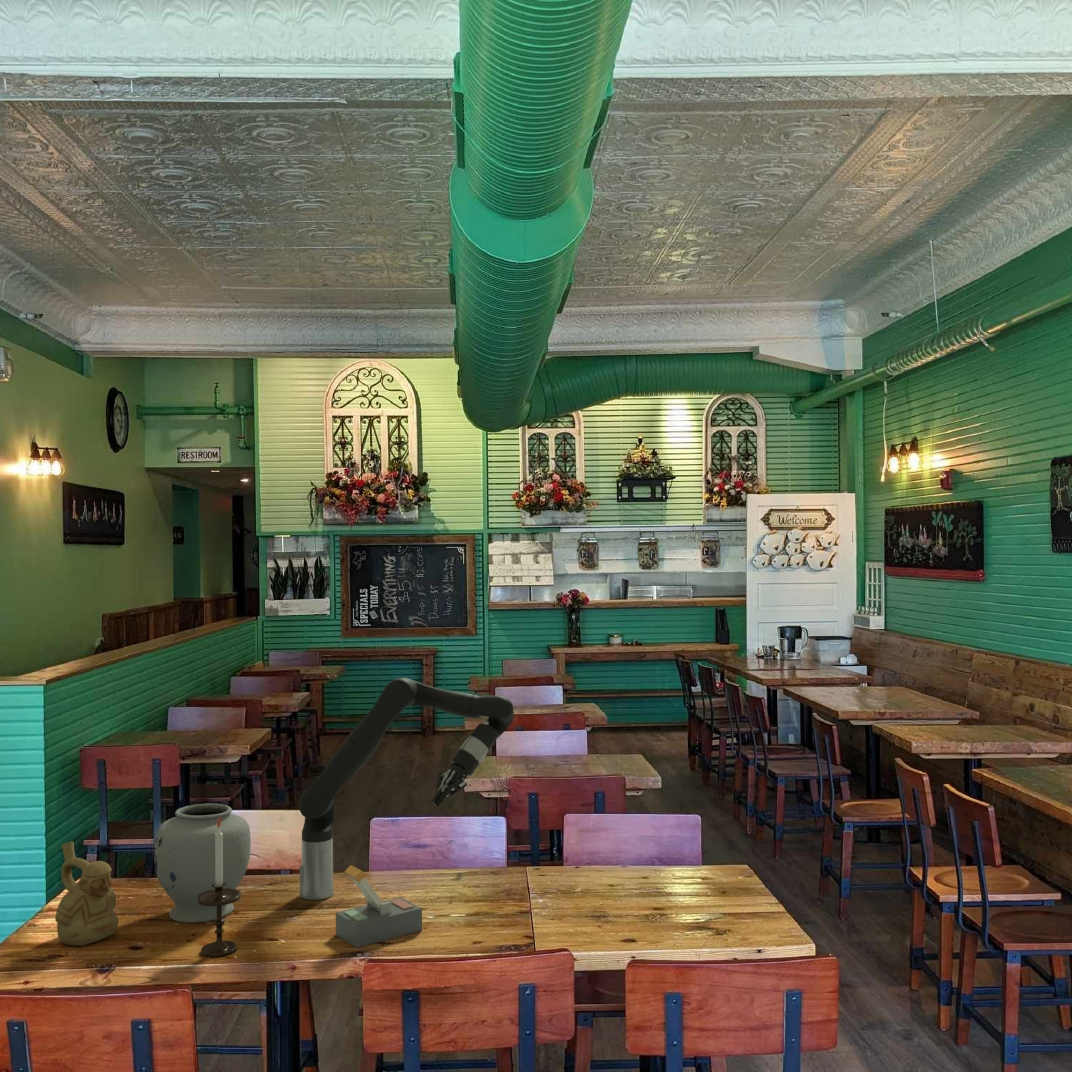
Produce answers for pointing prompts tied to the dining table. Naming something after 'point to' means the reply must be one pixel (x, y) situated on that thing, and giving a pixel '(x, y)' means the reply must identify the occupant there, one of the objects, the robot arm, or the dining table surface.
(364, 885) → the lever
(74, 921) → the ceramic vessel
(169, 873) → the ceramic vase
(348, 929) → the switch box
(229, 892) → the candlestick
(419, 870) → the dining table surface
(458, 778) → the robot arm
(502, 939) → the dining table surface
